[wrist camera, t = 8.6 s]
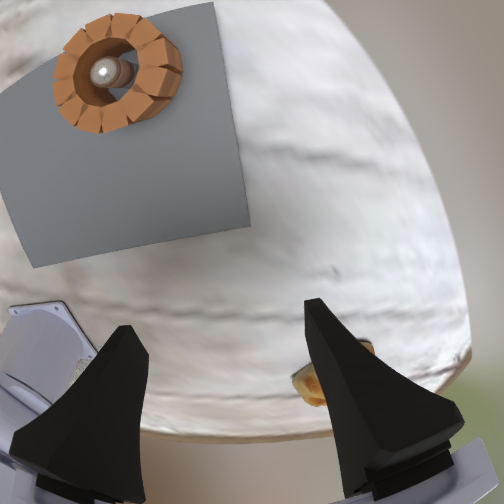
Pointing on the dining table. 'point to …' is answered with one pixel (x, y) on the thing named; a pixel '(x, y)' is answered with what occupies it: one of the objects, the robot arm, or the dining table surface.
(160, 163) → the grey rectangular slab
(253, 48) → the dining table surface
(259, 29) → the dining table surface
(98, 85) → the metal post
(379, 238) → the dining table surface
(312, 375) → the pastry
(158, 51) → the bead
